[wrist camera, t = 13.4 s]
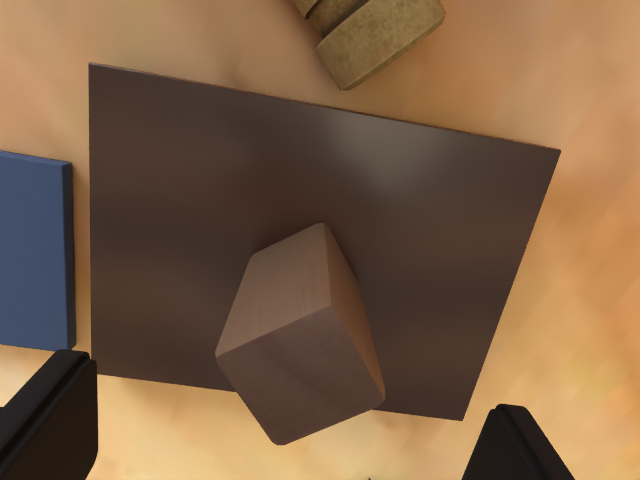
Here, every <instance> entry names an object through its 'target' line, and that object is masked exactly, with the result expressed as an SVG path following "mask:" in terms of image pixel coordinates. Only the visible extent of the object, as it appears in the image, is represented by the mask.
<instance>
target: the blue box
mask: <svg viewBox="0 0 640 480" xmlns="http://www.w3.org/2000/svg"><path fill="white" fill-rule="evenodd" d="M0 344H2V345H10V346H17V347H25V348H33V349H40V350H48V351H55V352H56V351H57V350H59V349H67V350H71V349H72V348H73V347H74V346H75V345H76V334H75V293H74V251H73V210H72V168H71V163H70V162H65V161H59V160H53V159H47V158H41V157H35V156H29V155H23V154H17V153H11V152H5V151H0Z"/></svg>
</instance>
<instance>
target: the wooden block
mask: <svg viewBox="0 0 640 480" xmlns="http://www.w3.org/2000/svg"><path fill="white" fill-rule="evenodd" d="M215 356H216V360H217V364H218V366H219V368H220V369H221V370H222V372H223V373H224V375H225V376H226V377H227V379H228V380H229V382H230V383H231V385H232V386H233V387H234V389H235V390H236V392H237V393H238V394H239V396H240V397H241V399H242V400H243V402H244V403H245V404H246V406H247V407H248V409H249V410H250V411H251V413H252V414H253V416H254V417H255V418H256V420H257V421H258V423H259V424H260V426H261V427H262V428H263V430H264V431H265V433H266V434H267V435H268V437H269V438H270V440H271V441H272V442H273V443H275V444H276V445H286V444H288V443H291V442H293V441H296V440H298V439H300V438H303V437H305V436H308V435H310V434H313V433H315V432H317V431H320V430H322V429H325V428H327V427H330V426H332V425H335V424H337V423H339V422H342V421H344V420H347V419H349V418H352V417H354V416H356V415H359V414H361V413H364V412H366V411H369V410H371V409H373V408H376V407H378V406H379V405H380V404H382V403H383V402H384V399H385V387H384V383H383V379H382V375H381V371H380V367H379V363H378V359H377V355H376V351H375V347H374V343H373V339H372V335H371V331H370V327H369V323H368V319H367V315H366V311H365V307H364V303H363V298H362V294H361V290H360V286H359V284H358V282H357V280H356V278H355V276H354V274H353V272H352V270H351V268H350V266H349V264H348V263H347V261H346V259H345V257H344V255H343V253H342V251H341V249H340V247H339V245H338V243H337V241H336V240H335V238H334V236H333V234H332V232H331V230H330V228H329V227H328V226H327V225H326V224H325V223H316V224H314V225H312V226H310V227H308V228H306V229H304V230H302V231H300V232H298V233H296V234H294V235H292V236H289V237H287V238H285V239H283V240H281V241H279V242H277V243H275V244H273V245H271V246H269V247H267V248H265V249H263V250H261V251H259V252H257V253H255V254H253V256H252V257H251V258H250V260H249V262H248V265H247V268H246V270H245V273H244V276H243V278H242V281H241V284H240V286H239V289H238V292H237V295H236V297H235V300H234V303H233V305H232V308H231V311H230V313H229V316H228V319H227V321H226V324H225V327H224V329H223V332H222V335H221V337H220V340H219V343H218V346H217V348H216V351H215Z"/></svg>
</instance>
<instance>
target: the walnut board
mask: <svg viewBox="0 0 640 480" xmlns="http://www.w3.org/2000/svg"><path fill="white" fill-rule="evenodd" d="M560 153H561V150H560V149H555V148H551V147H546V146H542V145H536V144H531V143H525V142H520V141H515V140H509V139H504V138H498V137H493V136H488V135H482V134H477V133H471V132H466V131H461V130H455V129H450V128H444V127H439V126H434V125H428V124H423V123H418V122H412V121H407V120H401V119H396V118H391V117H385V116H380V115H374V114H369V113H364V112H358V111H353V110H347V109H342V108H337V107H331V106H326V105H320V104H315V103H310V102H304V101H299V100H293V99H288V98H283V97H277V96H272V95H267V94H261V93H256V92H250V91H245V90H240V89H234V88H229V87H223V86H218V85H213V84H207V83H202V82H196V81H191V80H186V79H180V78H175V77H169V76H164V75H159V74H153V73H148V72H143V71H137V70H132V69H126V68H121V67H116V66H110V65H104V64H97V63H89V161H90V266H91V359H93V360H96V362H97V374H100V375H108V376H116V377H124V378H131V379H139V380H147V381H155V382H162V383H170V384H178V385H186V386H193V387H201V388H209V389H217V390H224V391H232V392H236V390H235V389H234V387H233V386H232V385H231V383H230V382H229V380H228V379H227V377H226V376H225V375H224V373H223V372H222V370H221V369H220V368H219V366H218V364H217V360H216V356H215V351H216V348H217V346H218V343H219V340H220V337H221V335H222V332H223V329H224V327H225V324H226V321H227V319H228V316H229V313H230V311H231V308H232V305H233V303H234V300H235V297H236V295H237V292H238V289H239V286H240V284H241V281H242V278H243V276H244V273H245V270H246V268H247V265H248V262H249V260H250V258H251V257H252V256H253V254H255V253H257V252H259V251H261V250H263V249H265V248H267V247H269V246H271V245H273V244H275V243H277V242H279V241H281V240H283V239H285V238H287V237H289V236H292V235H294V234H296V233H298V232H300V231H302V230H304V229H306V228H308V227H310V226H312V225H314V224H316V223H325V224H326V225H327V226H328V227H329V228H330V230H331V232H332V234H333V236H334V238H335V240H336V241H337V243H338V245H339V247H340V249H341V251H342V253H343V255H344V257H345V259H346V261H347V263H348V264H349V266H350V268H351V270H352V272H353V274H354V276H355V278H356V280H357V282H358V284H359V286H360V290H361V294H362V298H363V303H364V307H365V311H366V315H367V319H368V323H369V327H370V331H371V335H372V339H373V343H374V347H375V351H376V355H377V359H378V363H379V367H380V371H381V375H382V379H383V383H384V387H385V399H384V402H383V403H382V404H380V405H379V406H378V407H376V408H373V409H372V410H379V411H387V412H395V413H403V414H410V415H418V416H426V417H434V418H441V419H449V420H457V421H463V419H464V416H465V413H466V410H467V408H468V405H469V402H470V399H471V397H472V394H473V391H474V389H475V386H476V383H477V380H478V378H479V375H480V372H481V369H482V367H483V364H484V361H485V358H486V356H487V353H488V350H489V348H490V345H491V342H492V339H493V337H494V334H495V331H496V328H497V326H498V323H499V320H500V317H501V315H502V312H503V309H504V307H505V304H506V301H507V298H508V296H509V293H510V290H511V287H512V285H513V282H514V279H515V276H516V274H517V271H518V268H519V266H520V263H521V260H522V257H523V255H524V252H525V249H526V246H527V244H528V241H529V238H530V235H531V233H532V230H533V227H534V225H535V222H536V219H537V216H538V214H539V211H540V208H541V205H542V203H543V200H544V197H545V194H546V192H547V189H548V186H549V184H550V181H551V178H552V175H553V173H554V170H555V167H556V164H557V162H558V159H559V156H560Z"/></svg>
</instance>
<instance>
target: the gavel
mask: <svg viewBox="0 0 640 480" xmlns="http://www.w3.org/2000/svg"><path fill="white" fill-rule="evenodd" d="M293 1H294V3H295V4H296V6H297V7H298V9H299V11H300V12H301V14H302V15H303V17H304V18H305V19H309V18H310V20H311V21H312V23H313V25H314V26H315V28H316V29H317V31H318V33H319V34H320V36H321V37H322V39H323V40H322V41H321V42H320V43H319V44H318V46H317V47H316V48H315V52H316V53H317V55H318V56H319V58H320V59H321V61H322V63H323V64H324V66H325V67H326V69H327V70H328V72H329V74H330V75H331V77H332V78H333V80H334V81H335V83H336V84H337V86H338V88H339V89H340V90H351V89H352V88H354V87H356V86H357V85H359V84H360V83H362V82H363V81H365V80H366V79H368V78H369V77H371V76H372V75H374V74H375V73H377V72H378V71H380V70H381V69H382V68H384V67H385V66H387V65H388V64H389V63H391V62H392V61H394V60H395V59H396V58H398V57H399V56H401V55H402V54H403V53H405V52H406V51H408V50H409V49H410V48H412V47H413V46H414V45H416V44H417V43H418V42H420V41H421V40H422V39H424V38H425V37H426V36H427V35H429V34H430V33H431V32H433V31H434V30H435V29H436V28H437V27H439V26H440V25H441V24H442V22H443V19H444V17H445V15H446V13H445V11H444V9H443V7H442V5H441V3H440V1H439V0H293Z"/></svg>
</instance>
